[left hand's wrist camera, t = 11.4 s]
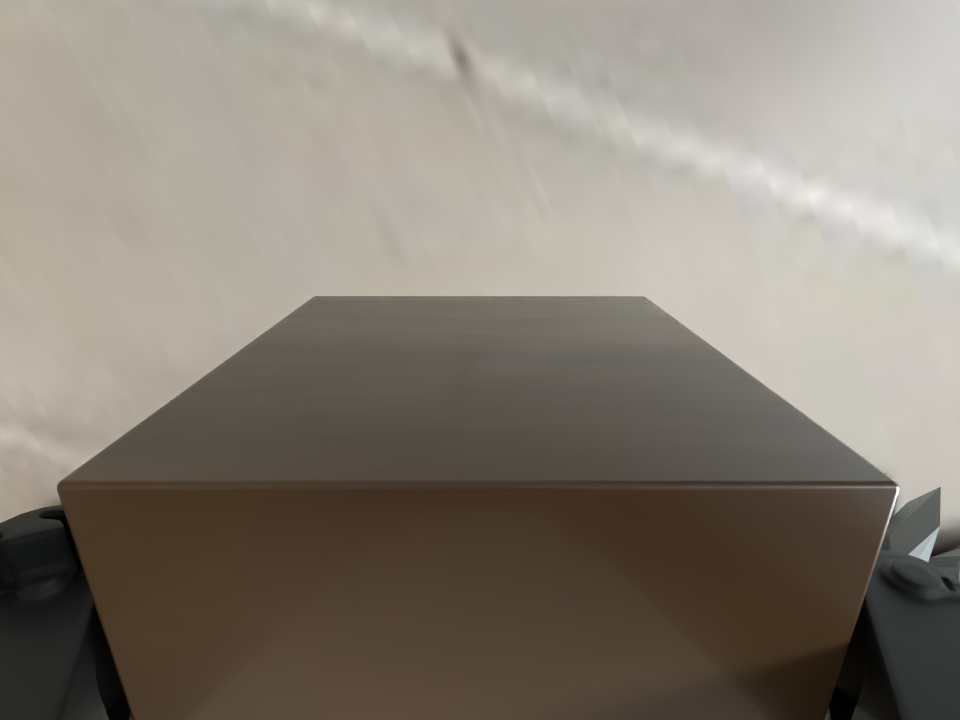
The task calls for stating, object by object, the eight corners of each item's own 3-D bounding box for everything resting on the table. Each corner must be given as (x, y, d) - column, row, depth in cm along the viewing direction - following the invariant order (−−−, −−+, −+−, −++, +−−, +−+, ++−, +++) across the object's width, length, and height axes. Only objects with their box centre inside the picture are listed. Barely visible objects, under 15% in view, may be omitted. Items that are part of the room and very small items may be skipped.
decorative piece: (728, 462, 28) (1212, 562, 30) (700, 428, 31) (1132, 519, 33) (571, 807, 38) (940, 863, 40) (563, 750, 42) (901, 805, 44)
